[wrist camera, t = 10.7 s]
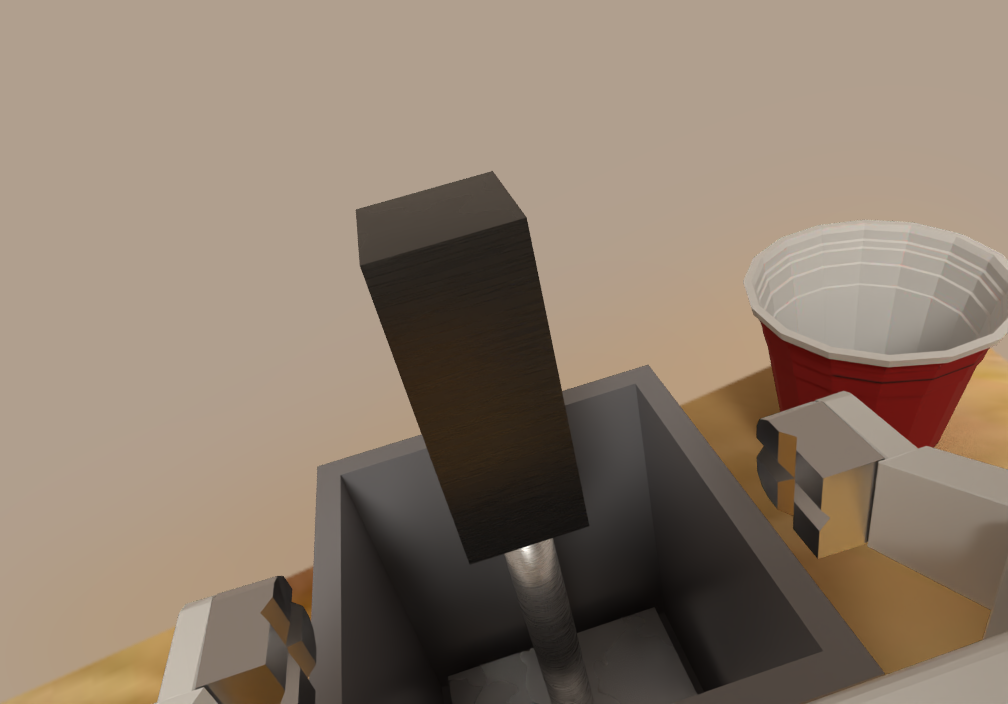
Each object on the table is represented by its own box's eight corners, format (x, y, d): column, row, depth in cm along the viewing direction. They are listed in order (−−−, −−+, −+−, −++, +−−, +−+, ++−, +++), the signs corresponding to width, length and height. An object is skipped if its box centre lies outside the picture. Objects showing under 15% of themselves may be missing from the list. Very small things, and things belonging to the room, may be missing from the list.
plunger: (496, 963, 20) (133, 426, 8) (452, 686, 28) (230, 204, 16) (773, 861, 21) (793, 229, 9) (656, 618, 29) (584, 105, 17)
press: (473, 1057, 20) (300, 878, 12) (428, 688, 30) (317, 466, 22) (838, 918, 21) (884, 673, 13) (674, 605, 31) (648, 364, 23)
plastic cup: (796, 574, 31) (806, 368, 24) (718, 427, 40) (710, 248, 33) (1034, 529, 30) (1110, 305, 24) (899, 390, 39) (927, 201, 33)
